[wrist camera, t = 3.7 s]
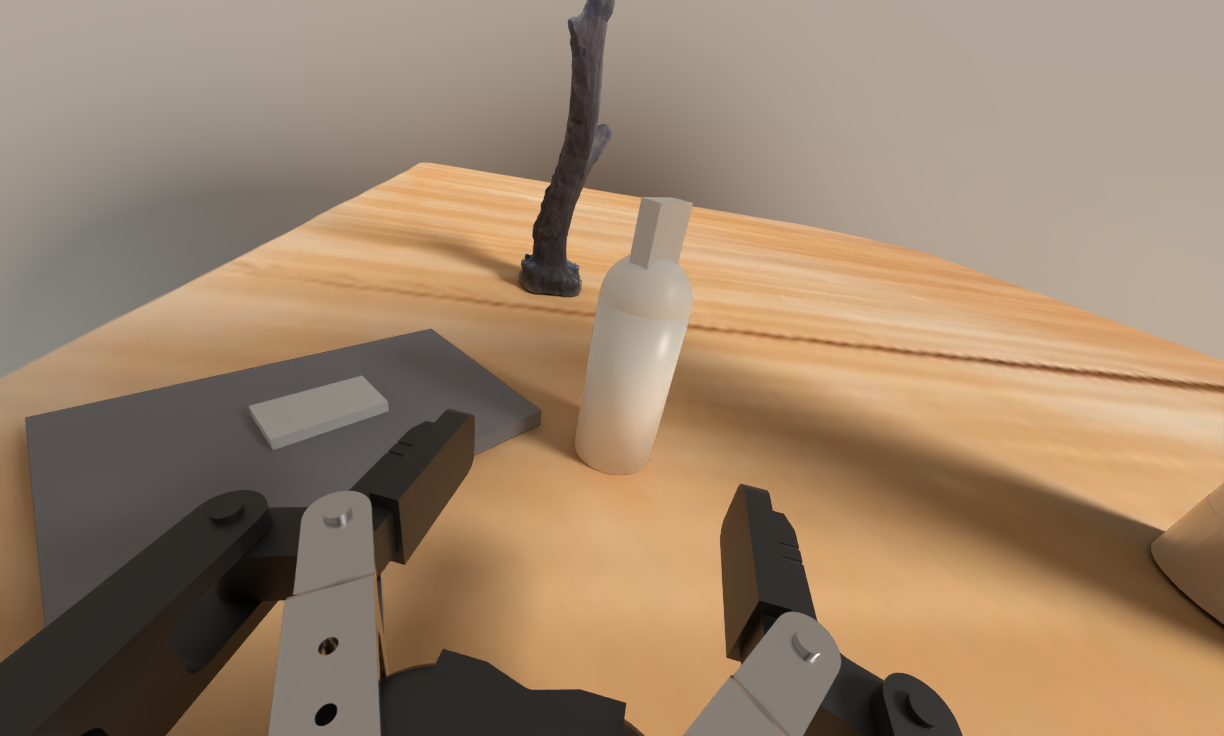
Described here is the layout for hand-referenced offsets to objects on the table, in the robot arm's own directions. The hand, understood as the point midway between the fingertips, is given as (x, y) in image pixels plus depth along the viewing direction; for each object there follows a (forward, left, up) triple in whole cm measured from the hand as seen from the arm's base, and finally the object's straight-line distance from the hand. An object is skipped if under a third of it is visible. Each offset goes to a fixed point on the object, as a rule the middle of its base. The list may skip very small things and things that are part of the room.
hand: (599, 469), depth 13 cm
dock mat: (+3, -15, -7) cm, 17 cm away
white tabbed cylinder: (-8, -5, -7) cm, 12 cm away
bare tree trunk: (-22, -25, -7) cm, 34 cm away
